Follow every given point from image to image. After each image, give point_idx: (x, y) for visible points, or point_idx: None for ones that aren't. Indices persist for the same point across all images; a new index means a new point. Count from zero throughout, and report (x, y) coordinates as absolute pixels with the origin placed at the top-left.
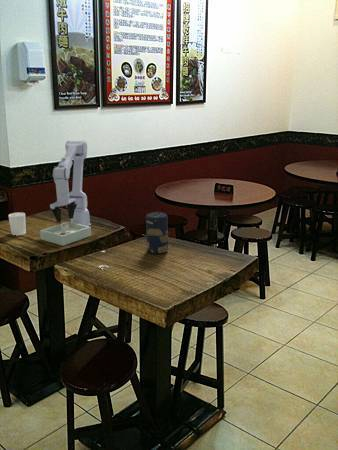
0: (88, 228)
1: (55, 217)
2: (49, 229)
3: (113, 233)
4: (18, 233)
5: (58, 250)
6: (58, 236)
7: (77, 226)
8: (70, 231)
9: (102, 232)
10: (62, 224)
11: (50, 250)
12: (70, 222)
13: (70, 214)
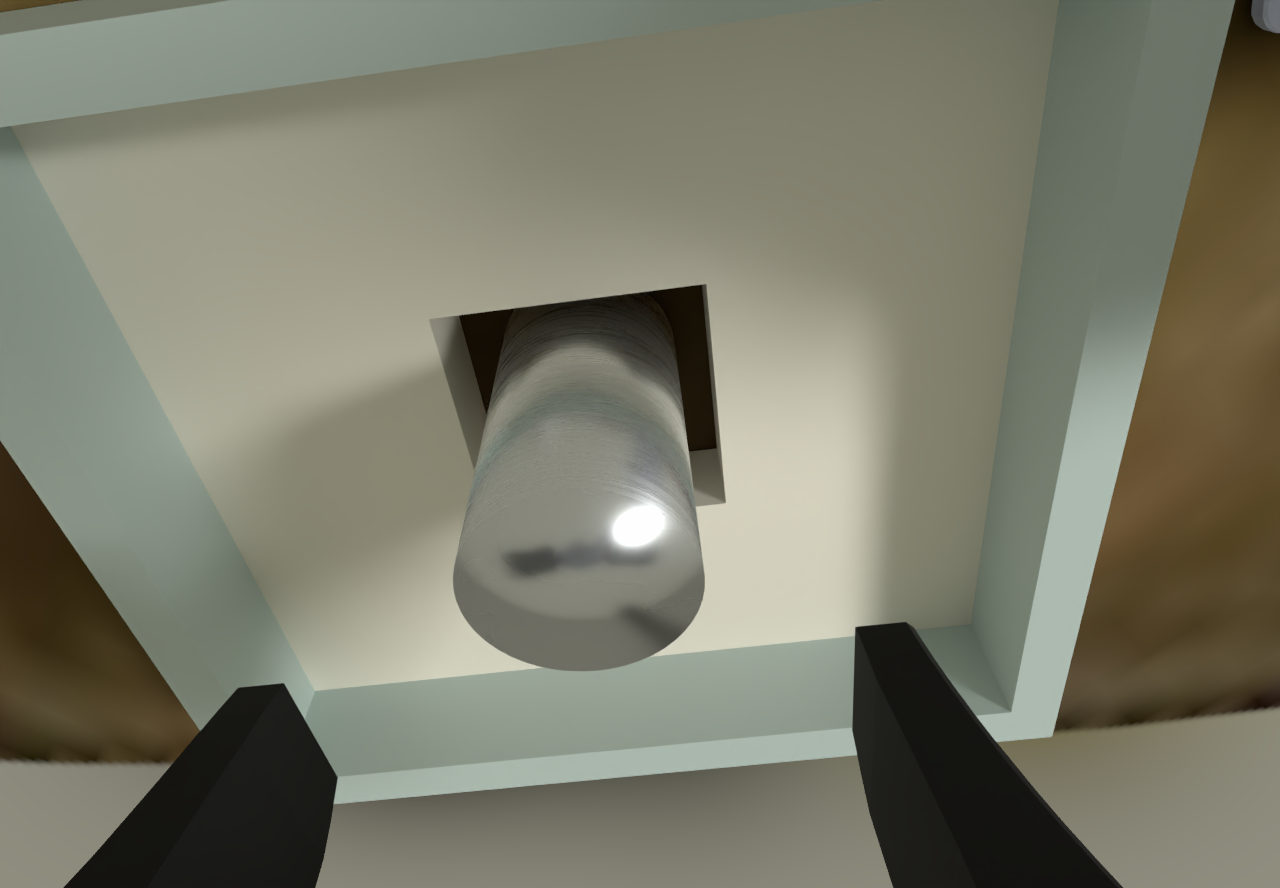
0: None
1: (107, 843)
2: (185, 90)
3: (1261, 707)
4: None
5: (181, 745)
6: None
7: (1044, 381)
8: (766, 362)
9: (1243, 579)
10: (465, 616)
11: (63, 689)
12: (1164, 54)
13: (903, 827)
